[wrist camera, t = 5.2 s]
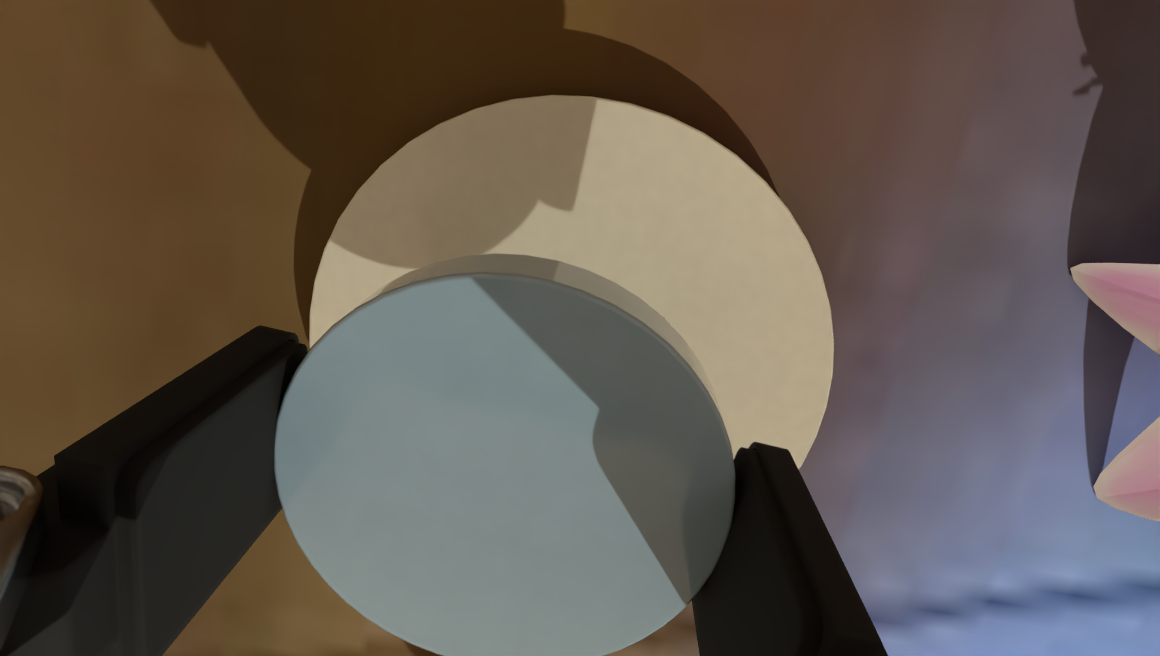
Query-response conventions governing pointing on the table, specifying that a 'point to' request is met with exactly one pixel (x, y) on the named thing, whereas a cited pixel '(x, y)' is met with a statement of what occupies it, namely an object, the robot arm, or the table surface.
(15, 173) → the table surface
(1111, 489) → the lily
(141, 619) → the robot arm
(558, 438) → the blue-grey cylinder
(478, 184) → the dessert plate
